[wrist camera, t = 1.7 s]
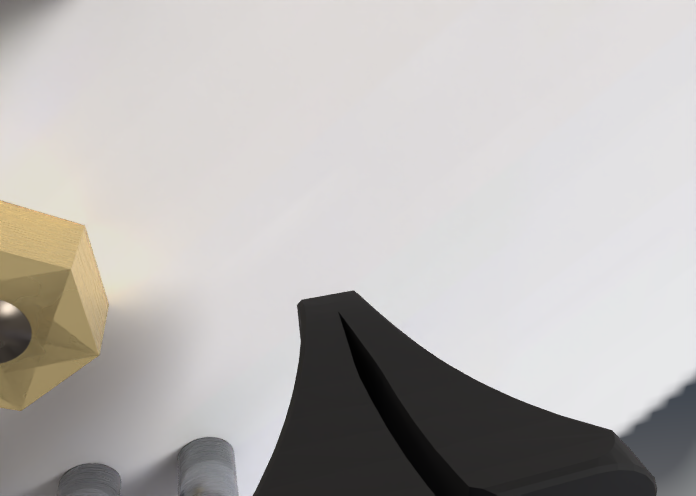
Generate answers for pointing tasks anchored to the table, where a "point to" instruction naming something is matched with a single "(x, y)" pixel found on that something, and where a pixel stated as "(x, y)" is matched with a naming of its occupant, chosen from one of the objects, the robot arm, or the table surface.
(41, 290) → the nut
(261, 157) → the table surface
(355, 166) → the table surface
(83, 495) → the metal pins
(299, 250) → the table surface
